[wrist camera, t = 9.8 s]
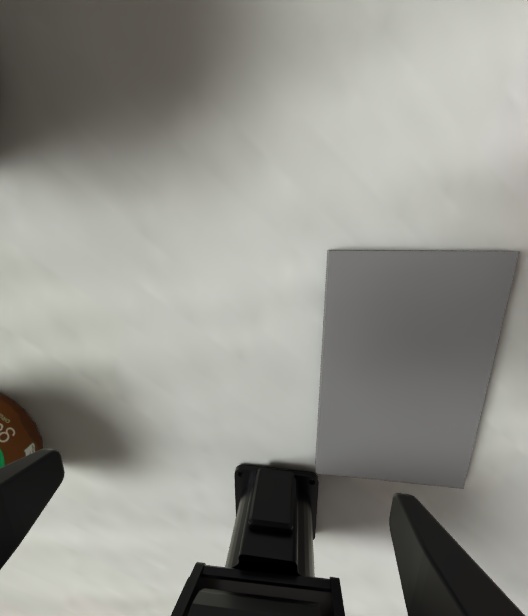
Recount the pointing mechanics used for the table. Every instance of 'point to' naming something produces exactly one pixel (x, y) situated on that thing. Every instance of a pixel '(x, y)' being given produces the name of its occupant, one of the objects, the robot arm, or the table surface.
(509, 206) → the table surface
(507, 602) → the robot arm
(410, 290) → the mat
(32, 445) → the food container
